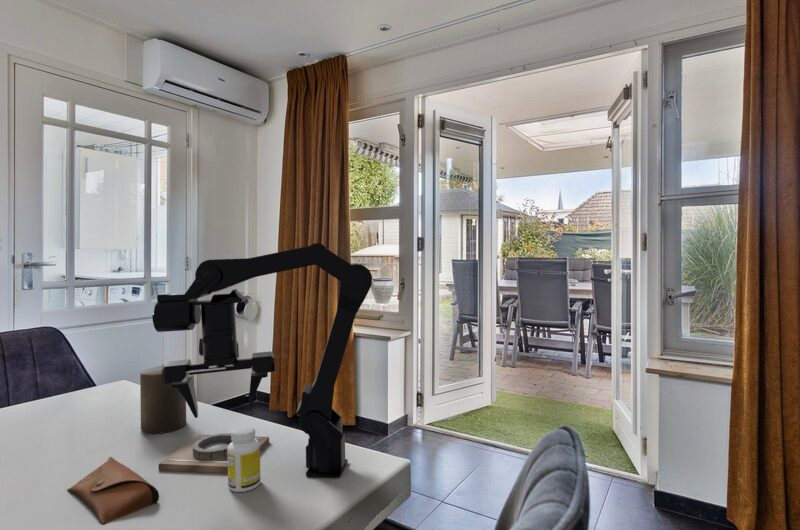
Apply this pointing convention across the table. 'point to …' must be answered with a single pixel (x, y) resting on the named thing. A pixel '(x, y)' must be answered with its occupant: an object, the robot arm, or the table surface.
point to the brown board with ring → (204, 454)
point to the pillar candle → (160, 403)
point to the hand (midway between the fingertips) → (223, 413)
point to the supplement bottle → (243, 460)
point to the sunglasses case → (114, 491)
